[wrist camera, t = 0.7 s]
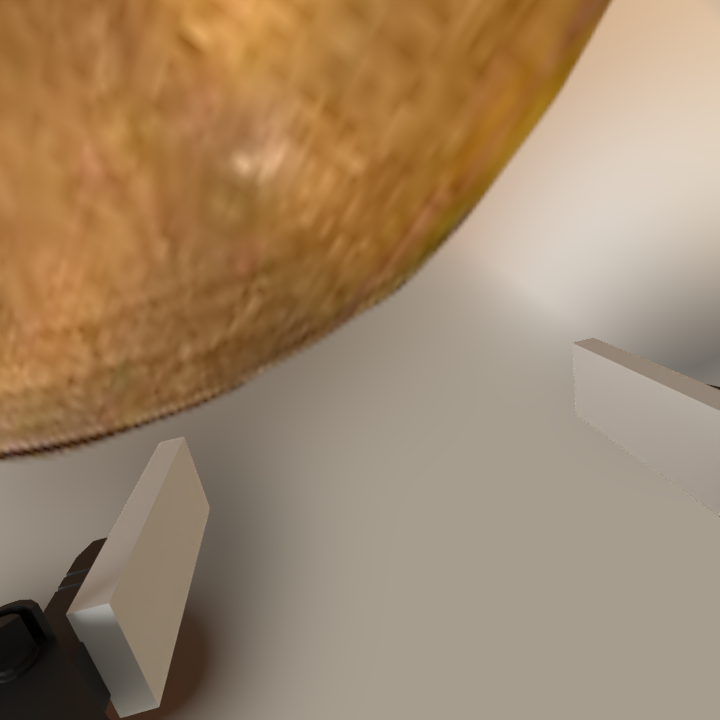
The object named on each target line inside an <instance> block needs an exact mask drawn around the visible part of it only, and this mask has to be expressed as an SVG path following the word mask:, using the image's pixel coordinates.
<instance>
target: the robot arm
mask: <svg viewBox="0 0 720 720" xmlns="http://www.w3.org/2000/svg"><path fill="white" fill-rule="evenodd" d="M572 345H573V366H574V367H573V368H574V389H575V412H576V416H577V417H579V418H580V419H582V420H583V421H584V422H586V423H587V424H589V425H590V426H592V427H593V428H594V429H596V430H597V431H599V432H600V433H601V434H603V435H604V436H606V437H607V438H609V439H610V440H611V441H613V442H614V443H616V444H617V445H618V446H620V447H621V448H623V449H624V450H626V451H627V452H628V453H630V454H631V455H633V456H634V457H636V458H637V459H638V460H640V461H641V462H643V463H644V464H646V465H647V466H648V467H650V468H651V469H652V470H654V471H655V472H657V473H658V474H660V475H661V476H662V477H664V478H665V479H667V480H668V481H669V482H671V483H672V484H674V485H675V486H677V487H678V488H679V489H681V490H682V491H684V492H685V493H686V494H688V495H689V496H691V497H692V498H694V499H695V500H696V501H698V502H699V503H701V504H702V505H703V506H705V507H706V508H708V509H709V510H711V511H712V512H713V513H715V514H716V515H718V516H719V517H720V387H717V386H712V385H708V384H704V383H701V382H699V381H697V380H694V379H692V378H689V377H687V376H684V375H682V374H680V373H677V372H675V371H672V370H670V369H668V368H665V367H663V366H660V365H658V364H656V363H653V362H651V361H648V360H646V359H643V358H641V357H638V356H636V355H634V354H631V353H629V352H626V351H624V350H622V349H619V348H617V347H614V346H612V345H610V344H607V343H605V342H602V341H600V340H597V339H595V338H591V339H587V340H582V341H579V342H574V343H572ZM209 509H210V508H209V505H208V502H207V499H206V496H205V494H204V491H203V488H202V485H201V483H200V480H199V477H198V475H197V472H196V469H195V466H194V463H193V460H192V457H191V455H190V452H189V449H188V446H187V444H186V441H185V438H184V437H180V438H176V439H172V440H168V441H164V442H160V443H159V444H158V446H157V448H156V450H155V452H154V454H153V455H152V457H151V459H150V461H149V463H148V465H147V466H146V468H145V470H144V472H143V474H142V476H141V477H140V479H139V481H138V483H137V485H136V487H135V488H134V490H133V492H132V494H131V496H130V498H129V499H128V501H127V503H126V505H125V507H124V509H123V510H122V512H121V514H120V516H119V518H118V520H117V522H116V523H115V525H114V527H113V529H112V531H111V532H110V534H109V536H108V538H104V539H100V540H96V541H93V542H92V543H91V544H90V545H89V546H88V547H87V548H86V549H85V550H84V551H83V552H82V553H81V554H80V555H79V556H78V557H77V558H76V559H75V561H74V563H73V564H72V566H71V568H70V569H69V571H68V573H67V577H65V578H64V579H63V581H62V582H61V584H60V586H59V588H58V592H55V594H54V596H53V598H52V599H51V601H50V602H49V604H48V606H47V608H46V609H45V611H44V612H42V610H41V608H40V606H39V605H38V603H36V602H34V601H33V600H18V601H15V602H12V603H9V604H6V605H4V606H2V607H0V720H110V719H109V718H108V716H107V715H106V713H105V710H106V707H107V705H108V702H109V699H111V701H112V703H113V705H114V707H115V709H116V710H117V712H118V714H119V716H120V718H122V717H126V716H129V715H132V714H136V713H139V712H143V711H146V710H150V709H153V708H157V707H159V705H160V701H161V697H162V693H163V689H164V685H165V682H166V678H167V674H168V670H169V666H170V661H171V658H172V654H173V650H174V646H175V643H176V639H177V635H178V631H179V626H180V623H181V619H182V615H183V611H184V607H185V603H186V599H187V596H188V592H189V588H190V584H191V580H192V576H193V572H194V568H195V564H196V560H197V557H198V553H199V549H200V544H201V540H202V537H203V533H204V529H205V525H206V521H207V517H208V514H209Z"/></svg>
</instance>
